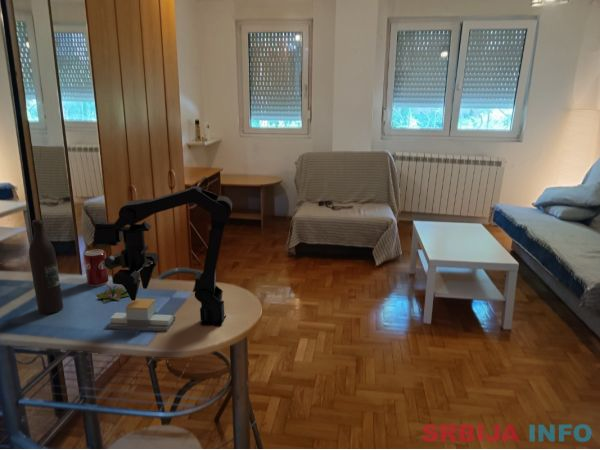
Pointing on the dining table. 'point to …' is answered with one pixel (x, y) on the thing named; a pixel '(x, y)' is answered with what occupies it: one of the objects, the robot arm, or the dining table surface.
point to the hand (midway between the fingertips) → (139, 294)
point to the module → (140, 312)
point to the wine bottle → (44, 271)
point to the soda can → (95, 267)
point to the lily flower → (112, 292)
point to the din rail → (155, 325)
